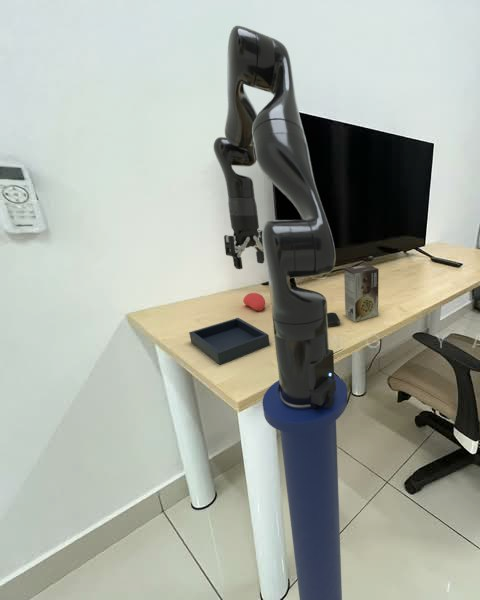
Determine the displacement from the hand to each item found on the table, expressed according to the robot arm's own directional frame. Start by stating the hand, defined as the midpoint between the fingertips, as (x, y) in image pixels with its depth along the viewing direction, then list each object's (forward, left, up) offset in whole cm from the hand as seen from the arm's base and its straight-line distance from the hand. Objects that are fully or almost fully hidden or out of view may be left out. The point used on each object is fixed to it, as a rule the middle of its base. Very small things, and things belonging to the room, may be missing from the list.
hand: (250, 265), depth 99 cm
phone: (-24, +1, -14) cm, 28 cm away
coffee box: (-34, -11, -15) cm, 39 cm away
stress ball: (0, 0, -15) cm, 15 cm away
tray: (-13, +21, -14) cm, 29 cm away
